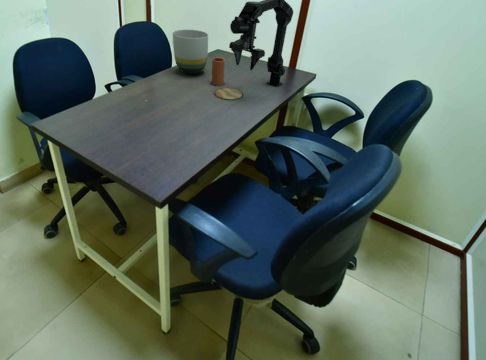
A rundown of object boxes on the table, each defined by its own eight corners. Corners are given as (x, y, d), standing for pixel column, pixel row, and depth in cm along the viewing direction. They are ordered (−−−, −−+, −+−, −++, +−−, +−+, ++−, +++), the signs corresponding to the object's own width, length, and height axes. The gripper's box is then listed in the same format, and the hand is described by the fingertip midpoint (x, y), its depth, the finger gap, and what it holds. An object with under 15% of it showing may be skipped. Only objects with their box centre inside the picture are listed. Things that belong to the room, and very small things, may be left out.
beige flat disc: (227, 86, 165) (227, 86, 165) (247, 94, 159) (247, 93, 158) (209, 93, 156) (209, 92, 156) (230, 102, 150) (230, 101, 150)
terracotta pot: (217, 80, 172) (217, 56, 164) (226, 83, 169) (227, 59, 161) (209, 83, 168) (209, 59, 160) (218, 86, 165) (218, 62, 157)
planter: (168, 70, 179) (165, 31, 166) (195, 65, 190) (194, 28, 176) (187, 80, 168) (185, 39, 155) (214, 74, 179) (215, 36, 166)
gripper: (222, 29, 139) (219, 63, 148) (252, 38, 130) (247, 74, 139) (239, 29, 147) (235, 62, 155) (268, 37, 137) (262, 72, 146)
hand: (244, 67), depth 149 cm, fingers open, 9 cm apart
